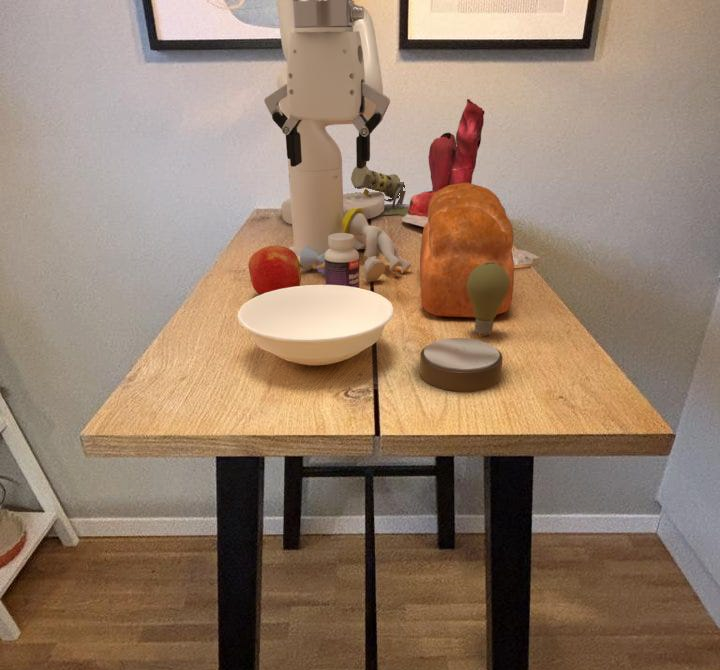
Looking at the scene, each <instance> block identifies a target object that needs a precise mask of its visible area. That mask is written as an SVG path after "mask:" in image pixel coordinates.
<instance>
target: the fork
mask: <svg viewBox="0 0 720 670" xmlns="http://www.w3.org/2000/svg"><path fill="white" fill-rule="evenodd" d="M354 241H355V244H354V247H353V249H355V250H357V251H358V250H359V251H360V250H365V249H366V246H367V242H366V243H365V244H364V243H362V242H361V241H359V240H358V239H357V238H355V237H354Z"/></svg>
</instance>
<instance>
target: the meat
mask: <svg viewBox="0 0 720 670" xmlns="http://www.w3.org/2000/svg"><path fill="white" fill-rule="evenodd" d="M485 112H486V111H485V110H484V109H483V108H482V107H480V106H479V105H478V104H477V103H474V102H473V101H471V99H470V98H467V99H466V105H465V106H464V109H463V111H462V114H461V117H460V119H459V122H458V126H457V127H458V128H457V131H456V135H454V133H451V132H445V133H442V134H441V135H440V136H439V137H436V138H435V139H434V140H433V141H432V142H431V143H430V146H429V152H428V156H427V157H428V166H429V171H430V180H431V186H432V188H431V189H432V190H429V191H423V192H421V193H418V194H415V195H412V197H411V198H410V200H409V206H408V207H409V210H408V212H407V215H406V216H403V217H402V218H401V220H402V221H403V222H404V223H407V224H411V225H415V226H419V227H422V228H424V226H425V224H426V223H427V222H428V207H429V203H430V199H431V198H432V196H433V195H434V194H435V193H436V192H437V191H439V190H441V189H442V188H445V187H447V186H449V185H454V184H460V183H471V184H473V183H472V182H473V175H474V172H475V169H476V165H477V159H478V158H477V157H478V151H479V149H480V146H481V142H482V131H483V127H484V120H485V119H484V117H485V114H486V113H485Z"/></svg>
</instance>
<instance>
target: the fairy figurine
mask: <svg viewBox="0 0 720 670" xmlns="http://www.w3.org/2000/svg"><path fill="white" fill-rule="evenodd" d="M324 259H325V253H323V254H322V255H319V254H318V253H317V252H315V251H314V250H312V249H310V248H309V247H307V246H305V247H304V248H303V249H302V251H301V254H300V258H299V259H298V260H299V264H300V267H301V268H302V270H303V271H304V272H309V271H310V270H312V269H313V270H315V269H317V272H318V273H322V274H323V275H324V276H325V260H324ZM319 262H321V265H317V264H318V263H319ZM322 263H323V264H322Z"/></svg>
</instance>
